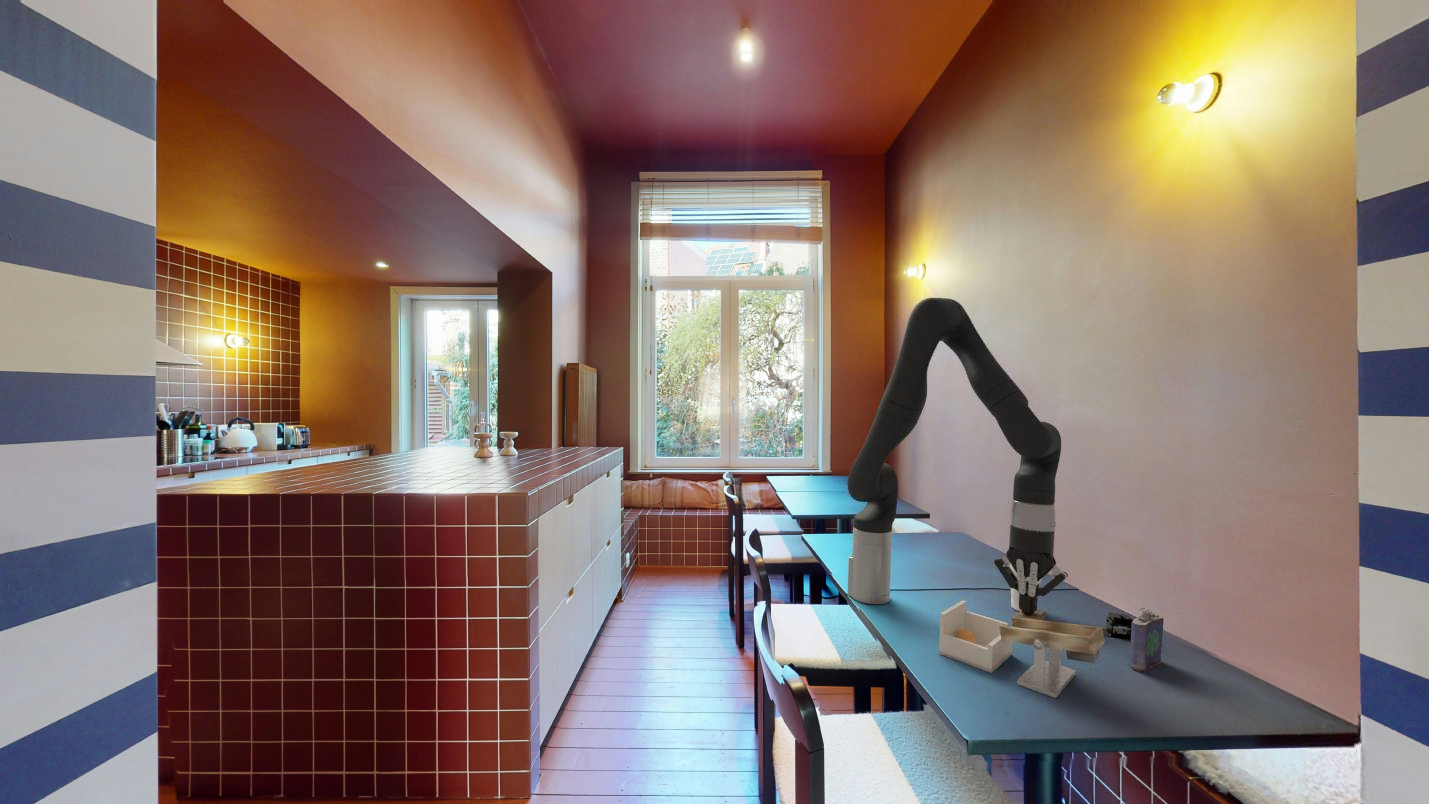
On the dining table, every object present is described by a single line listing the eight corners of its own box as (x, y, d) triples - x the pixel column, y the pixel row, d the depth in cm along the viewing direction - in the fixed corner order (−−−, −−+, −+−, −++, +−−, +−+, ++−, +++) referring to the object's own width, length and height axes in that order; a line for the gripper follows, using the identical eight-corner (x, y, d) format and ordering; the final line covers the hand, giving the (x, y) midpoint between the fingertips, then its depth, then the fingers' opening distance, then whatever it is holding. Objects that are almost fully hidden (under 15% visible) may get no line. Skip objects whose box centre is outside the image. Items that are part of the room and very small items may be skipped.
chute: (1003, 651, 103) (999, 626, 104) (1026, 632, 112) (1022, 608, 113) (1097, 666, 93) (1092, 638, 93) (1114, 643, 102) (1110, 618, 102)
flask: (1141, 673, 104) (1144, 616, 104) (1123, 666, 107) (1126, 610, 107) (1164, 662, 109) (1166, 607, 109) (1146, 656, 112) (1148, 602, 111)
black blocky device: (1092, 639, 120) (1093, 617, 120) (1081, 625, 127) (1081, 605, 127) (1161, 648, 117) (1162, 626, 116) (1145, 634, 124) (1146, 613, 123)
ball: (950, 634, 112) (966, 631, 110) (957, 629, 114) (973, 626, 112) (957, 652, 111) (974, 649, 109) (965, 647, 113) (981, 644, 111)
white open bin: (938, 653, 110) (940, 613, 110) (961, 638, 117) (962, 600, 117) (991, 673, 103) (993, 629, 103) (1011, 654, 110) (1013, 614, 110)
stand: (1017, 684, 99) (1019, 635, 99) (1039, 662, 108) (1040, 617, 107) (1055, 698, 95) (1057, 647, 95) (1075, 674, 103) (1077, 627, 103)
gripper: (989, 520, 111) (984, 607, 112) (1065, 535, 102) (1060, 630, 102) (1002, 515, 116) (998, 598, 117) (1076, 528, 107) (1072, 619, 107)
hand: (1027, 613), depth 109 cm, fingers closed
